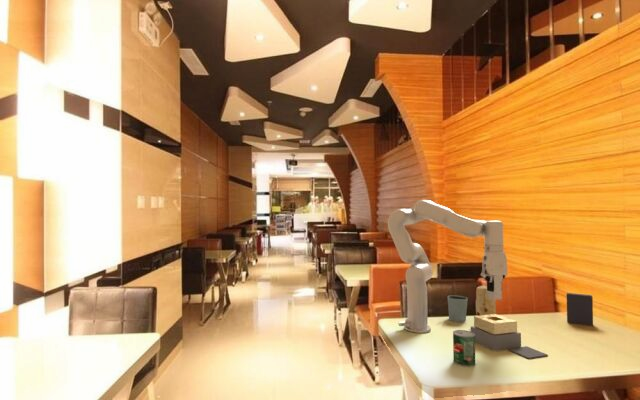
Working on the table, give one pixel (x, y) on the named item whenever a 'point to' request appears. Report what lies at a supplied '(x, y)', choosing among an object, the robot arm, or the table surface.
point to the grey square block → (497, 339)
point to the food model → (484, 302)
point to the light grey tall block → (496, 288)
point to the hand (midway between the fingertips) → (494, 290)
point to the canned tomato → (464, 348)
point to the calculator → (580, 309)
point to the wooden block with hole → (495, 324)
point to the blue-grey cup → (457, 308)
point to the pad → (527, 352)
